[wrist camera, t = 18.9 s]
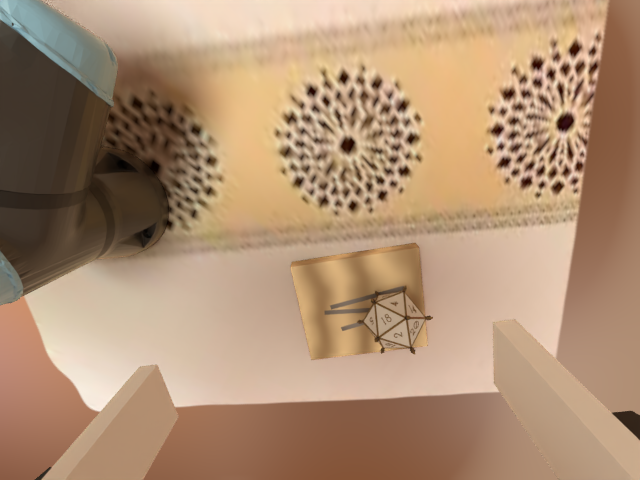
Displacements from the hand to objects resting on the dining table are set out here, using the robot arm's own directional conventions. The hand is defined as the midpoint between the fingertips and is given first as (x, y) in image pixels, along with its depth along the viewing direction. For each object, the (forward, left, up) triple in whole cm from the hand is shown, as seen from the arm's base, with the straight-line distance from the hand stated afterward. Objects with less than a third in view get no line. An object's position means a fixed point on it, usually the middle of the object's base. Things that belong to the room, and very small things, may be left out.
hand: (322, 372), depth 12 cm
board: (+2, -15, -32) cm, 35 cm away
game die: (+6, -15, -30) cm, 34 cm away
